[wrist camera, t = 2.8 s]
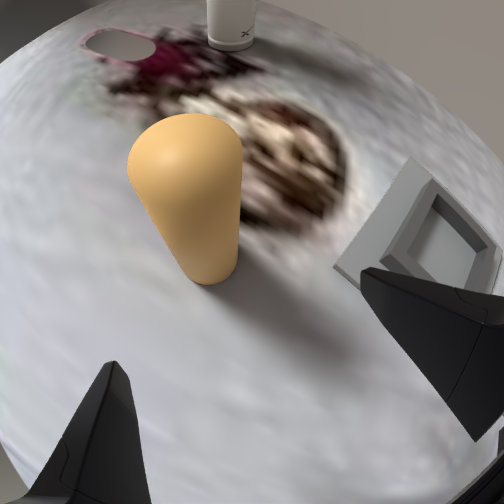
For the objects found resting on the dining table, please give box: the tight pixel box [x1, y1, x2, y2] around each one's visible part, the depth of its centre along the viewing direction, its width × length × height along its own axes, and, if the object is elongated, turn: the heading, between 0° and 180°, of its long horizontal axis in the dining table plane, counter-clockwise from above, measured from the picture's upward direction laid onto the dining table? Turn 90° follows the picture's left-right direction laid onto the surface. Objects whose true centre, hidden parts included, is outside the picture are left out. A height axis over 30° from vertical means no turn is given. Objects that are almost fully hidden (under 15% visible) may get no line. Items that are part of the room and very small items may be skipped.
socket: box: [333, 156, 503, 294], centre depth 23 cm, size 16×16×3 cm
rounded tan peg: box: [127, 113, 243, 285], centre depth 17 cm, size 5×5×13 cm
